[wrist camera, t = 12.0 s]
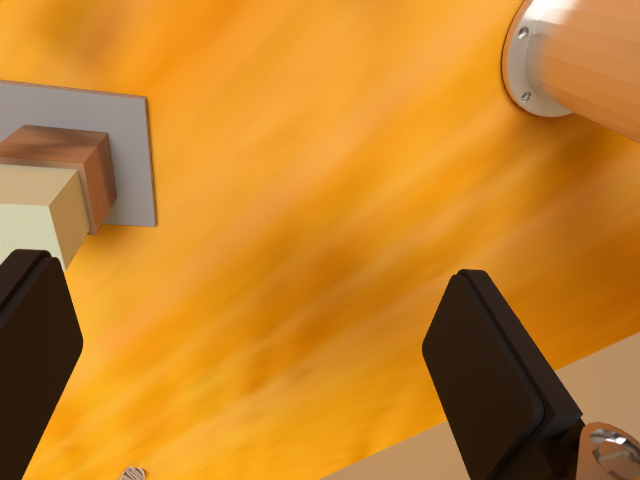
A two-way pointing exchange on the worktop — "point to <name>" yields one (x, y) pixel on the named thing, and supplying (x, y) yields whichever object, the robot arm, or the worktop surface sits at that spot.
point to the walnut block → (68, 162)
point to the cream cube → (41, 211)
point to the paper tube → (132, 474)
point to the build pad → (93, 115)
